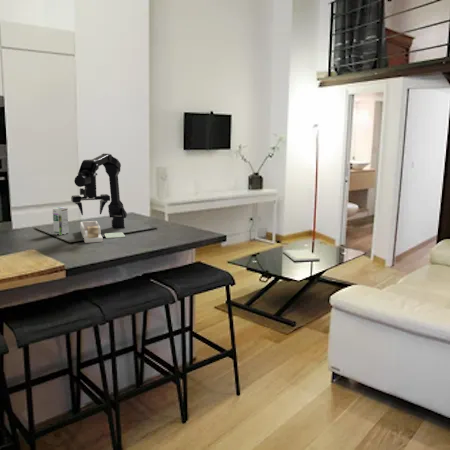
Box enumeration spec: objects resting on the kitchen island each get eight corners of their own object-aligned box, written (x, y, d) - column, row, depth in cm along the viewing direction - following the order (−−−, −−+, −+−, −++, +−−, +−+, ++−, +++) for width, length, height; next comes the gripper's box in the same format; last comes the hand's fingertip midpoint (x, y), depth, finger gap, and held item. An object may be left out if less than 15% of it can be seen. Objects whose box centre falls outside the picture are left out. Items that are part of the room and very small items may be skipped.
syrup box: (53, 234, 255) (51, 208, 252) (61, 232, 260) (60, 206, 257) (60, 235, 252) (59, 209, 249) (69, 233, 257) (67, 207, 254)
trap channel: (97, 230, 266) (96, 220, 264) (102, 241, 241) (102, 231, 240) (80, 231, 262) (80, 221, 261) (84, 242, 238) (84, 232, 237)
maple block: (97, 235, 246) (97, 225, 245) (98, 237, 242) (98, 227, 241) (87, 235, 245) (87, 226, 243) (88, 237, 240) (88, 228, 239)
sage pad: (122, 233, 260) (122, 232, 260) (125, 237, 251) (125, 236, 251) (104, 234, 256) (104, 233, 256) (106, 238, 247) (106, 237, 247)
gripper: (105, 182, 250) (106, 211, 253) (69, 183, 242) (70, 213, 245) (109, 184, 240) (110, 214, 243) (72, 186, 232) (73, 216, 235)
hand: (91, 214), depth 242 cm, fingers open, 9 cm apart
